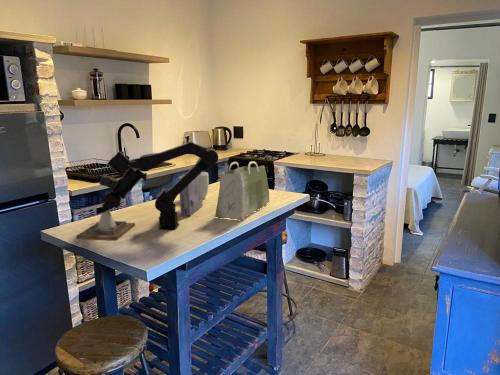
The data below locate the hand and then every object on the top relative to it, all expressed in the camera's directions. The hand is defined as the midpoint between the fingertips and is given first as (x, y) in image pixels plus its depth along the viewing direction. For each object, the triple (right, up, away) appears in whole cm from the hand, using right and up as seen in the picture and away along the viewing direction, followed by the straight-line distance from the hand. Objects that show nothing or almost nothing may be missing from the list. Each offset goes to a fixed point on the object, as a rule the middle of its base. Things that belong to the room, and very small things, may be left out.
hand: (101, 210), depth 144 cm
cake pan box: (+31, -2, +29) cm, 42 cm away
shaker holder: (+1, -8, +2) cm, 9 cm away
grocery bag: (+55, -2, +29) cm, 62 cm away
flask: (+1, -7, +2) cm, 7 cm away
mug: (+30, +4, +52) cm, 60 cm away
